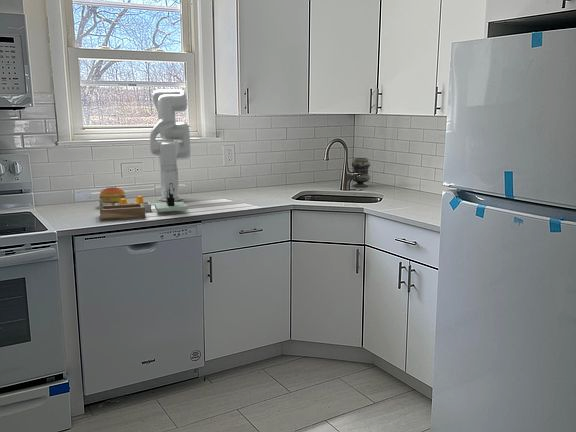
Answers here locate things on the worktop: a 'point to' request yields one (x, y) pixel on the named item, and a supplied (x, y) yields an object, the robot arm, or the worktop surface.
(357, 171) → the apothecary jar
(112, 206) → the wooden box
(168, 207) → the mint green slab
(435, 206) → the worktop surface
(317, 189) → the worktop surface
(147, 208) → the clamp corral
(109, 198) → the burger
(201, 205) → the worktop surface
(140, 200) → the pipe clamp
